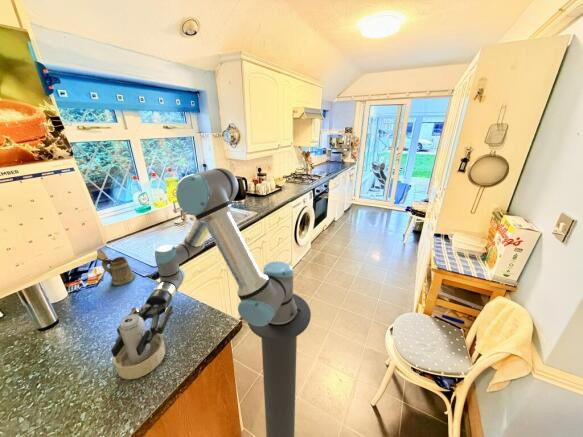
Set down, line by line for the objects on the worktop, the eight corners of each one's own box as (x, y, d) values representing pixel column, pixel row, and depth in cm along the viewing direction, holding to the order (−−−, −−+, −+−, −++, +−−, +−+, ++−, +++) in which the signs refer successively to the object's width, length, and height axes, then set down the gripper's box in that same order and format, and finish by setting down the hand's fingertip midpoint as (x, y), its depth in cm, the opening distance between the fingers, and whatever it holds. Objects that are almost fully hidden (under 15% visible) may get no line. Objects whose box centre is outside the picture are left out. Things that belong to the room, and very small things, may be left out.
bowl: (171, 340, 82) (168, 328, 80) (157, 377, 70) (153, 364, 68) (130, 345, 80) (126, 333, 78) (108, 384, 68) (103, 371, 66)
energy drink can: (148, 363, 72) (137, 326, 67) (126, 366, 71) (113, 329, 66) (154, 346, 78) (145, 311, 72) (134, 349, 77) (123, 313, 71)
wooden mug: (106, 276, 116) (95, 244, 109) (137, 273, 119) (128, 241, 113) (97, 288, 108) (85, 254, 101) (130, 283, 111) (121, 250, 105)
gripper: (188, 304, 90) (162, 359, 69) (137, 306, 89) (94, 364, 67) (185, 288, 88) (157, 341, 66) (132, 290, 86) (86, 345, 65)
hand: (126, 352), depth 67 cm, fingers closed on energy drink can, 6 cm apart
